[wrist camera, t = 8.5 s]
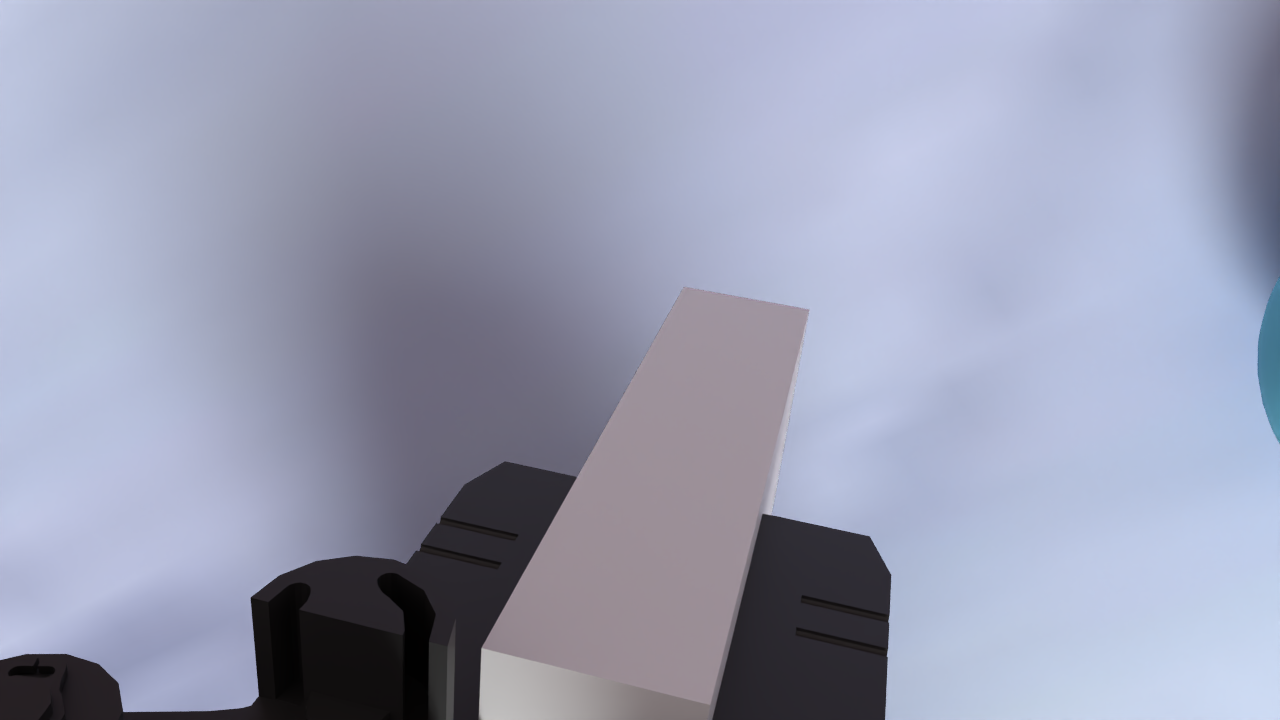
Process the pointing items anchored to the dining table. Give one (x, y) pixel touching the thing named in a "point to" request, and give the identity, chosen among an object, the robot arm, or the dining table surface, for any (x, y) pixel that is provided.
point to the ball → (1271, 360)
